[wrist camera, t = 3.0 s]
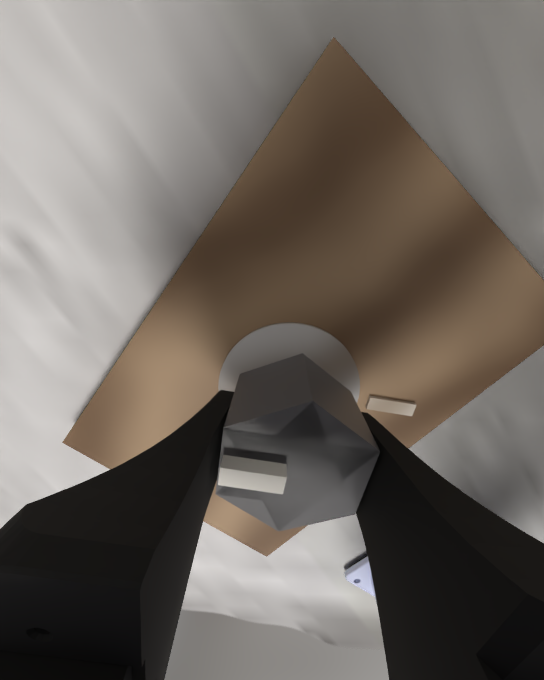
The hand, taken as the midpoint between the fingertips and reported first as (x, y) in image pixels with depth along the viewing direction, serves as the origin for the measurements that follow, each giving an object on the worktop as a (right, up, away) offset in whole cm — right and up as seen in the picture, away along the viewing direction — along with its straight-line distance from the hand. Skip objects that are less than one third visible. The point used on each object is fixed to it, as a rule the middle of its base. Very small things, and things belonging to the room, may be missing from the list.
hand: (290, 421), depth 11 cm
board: (0, +1, +4) cm, 4 cm away
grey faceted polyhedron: (0, 0, +1) cm, 1 cm away
